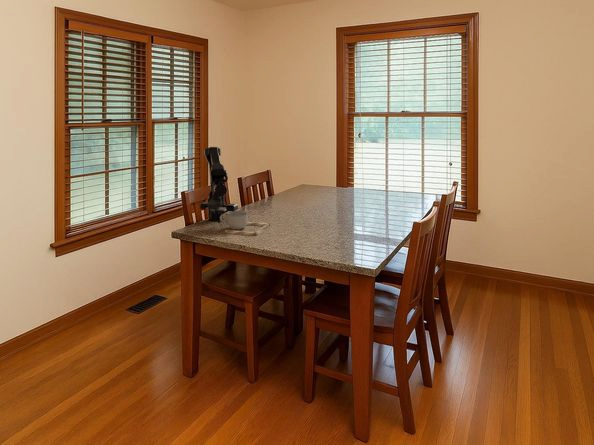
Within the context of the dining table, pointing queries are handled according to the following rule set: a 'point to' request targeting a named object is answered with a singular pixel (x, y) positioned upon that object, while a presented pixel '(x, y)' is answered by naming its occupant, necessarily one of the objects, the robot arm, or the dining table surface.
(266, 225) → the frame
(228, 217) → the teacup
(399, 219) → the dining table surface
